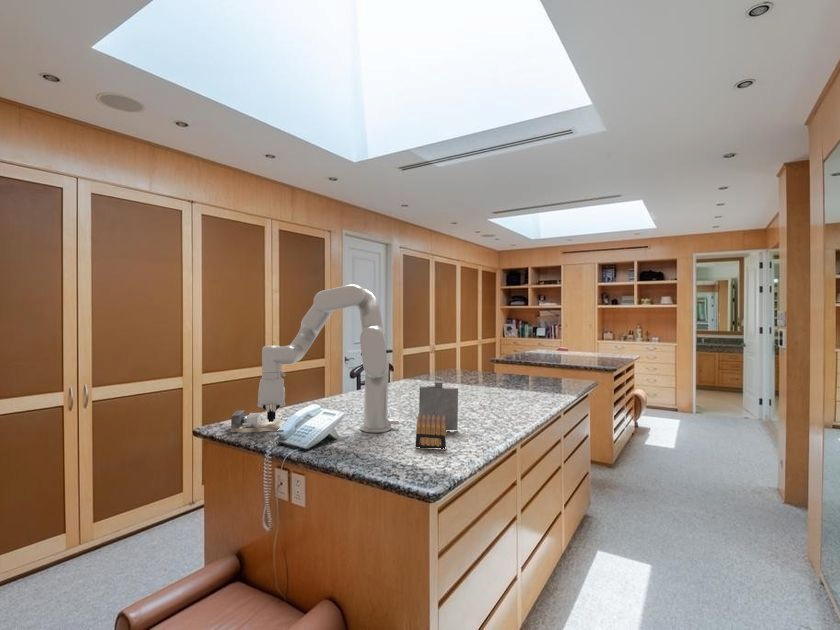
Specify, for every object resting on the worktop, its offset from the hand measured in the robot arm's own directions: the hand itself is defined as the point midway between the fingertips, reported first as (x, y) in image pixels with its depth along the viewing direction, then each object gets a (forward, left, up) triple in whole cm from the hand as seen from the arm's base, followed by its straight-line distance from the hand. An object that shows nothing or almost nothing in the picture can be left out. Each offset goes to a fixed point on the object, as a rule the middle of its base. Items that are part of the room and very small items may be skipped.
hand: (271, 421), depth 175 cm
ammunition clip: (-59, +34, -3) cm, 68 cm away
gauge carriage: (+8, +1, -1) cm, 8 cm away
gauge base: (+4, 0, -3) cm, 5 cm away
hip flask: (-67, +11, -3) cm, 68 cm away
